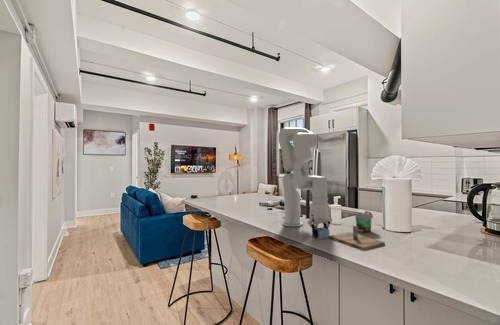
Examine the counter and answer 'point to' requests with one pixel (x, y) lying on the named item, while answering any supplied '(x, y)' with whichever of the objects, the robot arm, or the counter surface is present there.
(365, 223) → the food container
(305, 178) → the robot arm
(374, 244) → the shaft stand
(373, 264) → the counter surface
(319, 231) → the collar
